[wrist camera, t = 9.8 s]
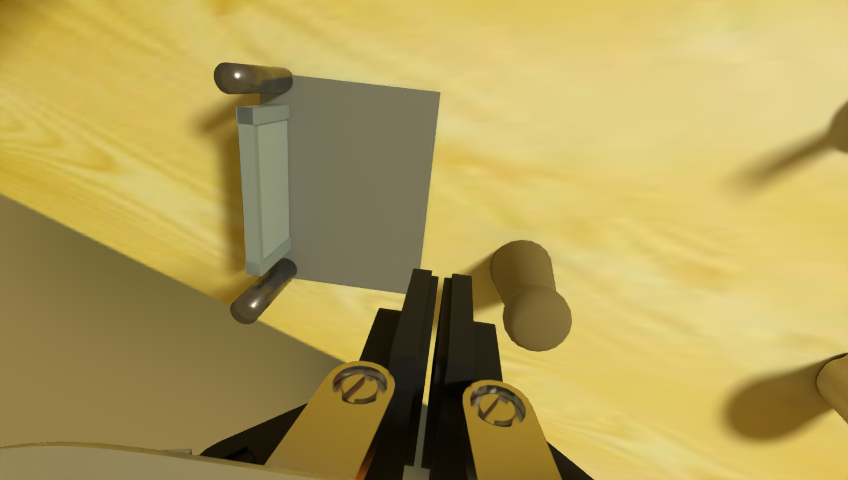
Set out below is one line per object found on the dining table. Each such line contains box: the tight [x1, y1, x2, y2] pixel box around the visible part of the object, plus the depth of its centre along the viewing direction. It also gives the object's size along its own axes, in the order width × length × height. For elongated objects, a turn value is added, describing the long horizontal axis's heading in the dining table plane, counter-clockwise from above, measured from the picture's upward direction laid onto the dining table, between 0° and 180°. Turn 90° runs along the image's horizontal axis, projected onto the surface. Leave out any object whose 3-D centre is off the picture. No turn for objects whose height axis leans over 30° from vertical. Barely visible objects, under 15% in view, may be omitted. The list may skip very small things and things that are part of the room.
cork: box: [490, 240, 572, 352], centre depth 35 cm, size 6×6×11 cm
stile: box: [230, 229, 297, 324], centre depth 38 cm, size 6×4×9 cm, turn 174°
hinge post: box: [214, 63, 293, 94], centre depth 31 cm, size 2×2×9 cm
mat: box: [260, 75, 440, 294], centre depth 39 cm, size 20×16×1 cm
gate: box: [236, 103, 291, 277], centre depth 35 cm, size 14×1×6 cm, turn 174°
